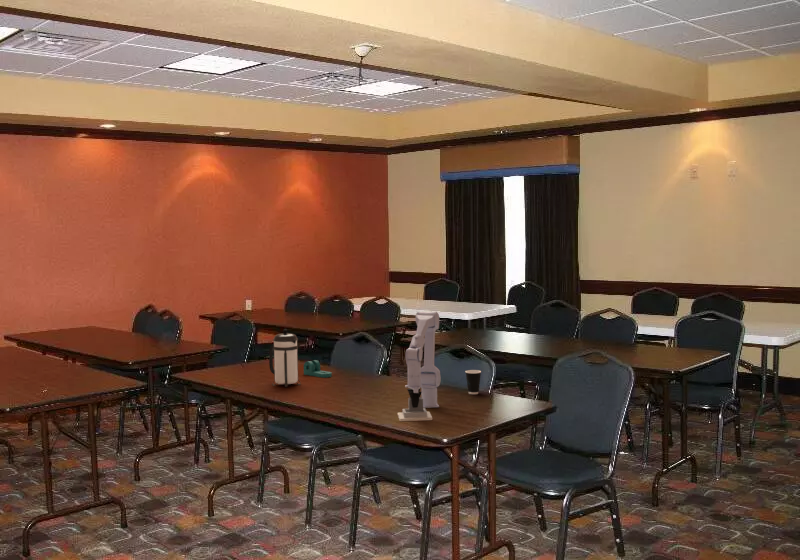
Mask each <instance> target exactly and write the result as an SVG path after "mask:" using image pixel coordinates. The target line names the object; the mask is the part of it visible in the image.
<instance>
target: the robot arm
mask: <svg viewBox="0 0 800 560" xmlns="http://www.w3.org/2000/svg"><path fill="white" fill-rule="evenodd" d="M415 323H416V326H417V328H416V332H415V334H414V335H413V336H412V338H411V342H410V344H409V347H408V348H406V350H405V354H404V355H405V356H404V357H405V361H406V366H407V384H405V386H404V387H405V388H407V389H406V390H407V392H408V395H409V398H411V401H412V406H413V408H417V407H418V403H419V398H420V397H422V398H423V408H425V409H426V408H427V409H428V408H429V409H430V408H440V405H439V404H438V387H439V386H440V385H441V381H442V380H441V379H442V378H441V371H440V369H439V368H438V367H437V366H436V365H435V349H436V348H435V346H436V345H435V344H436V331H437V330H439V328H440V315H439V312H438V311H420V310H418V311H417V312H416V314H415ZM423 352H424V353H423ZM422 360H423V366H422V365H421V361H422ZM421 366H422V367H421Z"/></svg>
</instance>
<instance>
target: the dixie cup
mask: <svg viewBox="0 0 800 560" xmlns="http://www.w3.org/2000/svg"><path fill="white" fill-rule="evenodd" d="M464 372H465V377H466V379H465V380H466V386H467V392H468V395H478V394H479V391H480V386H481V385H480V384H481V375H482V374H481V373H482V371H481V370H479V369H468V370H465V371H464Z"/></svg>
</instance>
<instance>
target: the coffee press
mask: <svg viewBox="0 0 800 560" xmlns="http://www.w3.org/2000/svg"><path fill="white" fill-rule="evenodd" d="M282 332H283V333H278V334H276V335H275V336H274V337H273V339H272V341H273V344H272V345H271V346H270V347H269V349H268V350H269V351H268V363H269V369H270V372H271V373H272V374H273V376H274V379H273V380H274V381H273V382H272V383H271V384H272V386H273V387H274V386H276V385H277V384H278V385H284V388H288V386H289V385H291V384H297V385H298V386H300V385H301V381H300V380H299V364H298V360H299V359H298V358H299V357H298V355H299V353H298V351H299V350H298V348H299V346H298V340H299V338H298V337H297V335H296V334H294V333H289V332H288V329H287V328H284V329H283V331H282ZM274 382H275V384H274ZM298 382H299V383H298Z"/></svg>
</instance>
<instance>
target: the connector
mask: <svg viewBox="0 0 800 560" xmlns="http://www.w3.org/2000/svg"><path fill="white" fill-rule="evenodd" d="M407 401H408V402H407V403H408V408H407V409H409V411H423V398H422V396H420V398H419V403H418V407H417V408H413V406H412V401H411V398H410V397H408V400H407Z"/></svg>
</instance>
